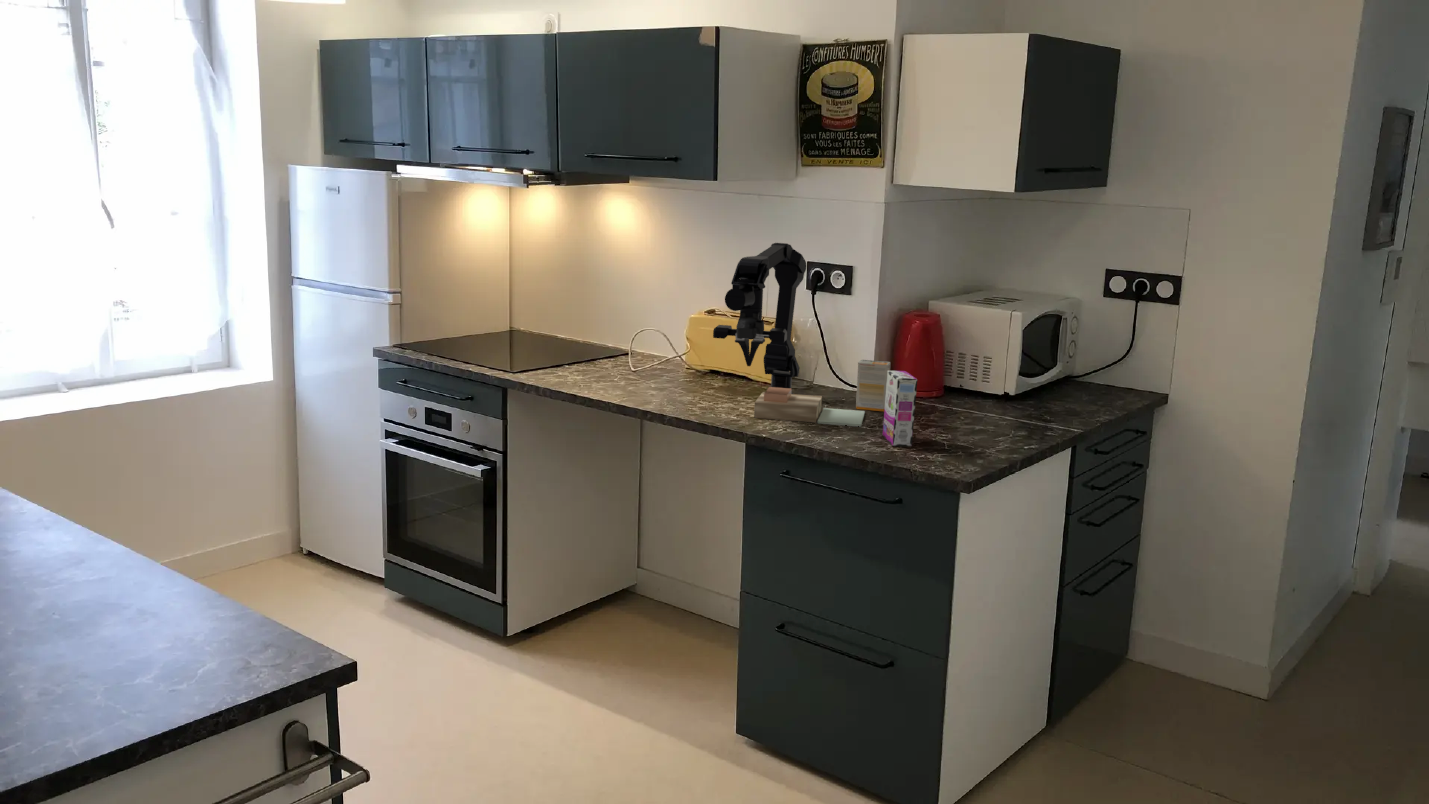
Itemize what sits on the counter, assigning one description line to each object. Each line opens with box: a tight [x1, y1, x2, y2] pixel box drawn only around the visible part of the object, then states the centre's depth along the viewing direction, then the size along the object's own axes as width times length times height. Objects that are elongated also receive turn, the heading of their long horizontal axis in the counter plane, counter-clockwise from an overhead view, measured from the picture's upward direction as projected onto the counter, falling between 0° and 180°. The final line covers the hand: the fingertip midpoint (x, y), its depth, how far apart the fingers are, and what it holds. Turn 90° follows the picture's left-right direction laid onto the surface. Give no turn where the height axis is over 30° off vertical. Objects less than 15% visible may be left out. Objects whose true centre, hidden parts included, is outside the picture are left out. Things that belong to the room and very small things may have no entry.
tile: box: [764, 386, 792, 403], centre depth 292 cm, size 9×6×2 cm, turn 169°
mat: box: [817, 407, 866, 428], centre depth 290 cm, size 16×11×1 cm
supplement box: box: [855, 359, 891, 413], centre depth 300 cm, size 8×5×13 cm, turn 71°
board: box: [753, 391, 823, 423], centre depth 292 cm, size 14×16×4 cm
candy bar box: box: [882, 370, 918, 447], centre depth 266 cm, size 11×5×16 cm, turn 5°
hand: (748, 366), depth 292 cm, fingers closed
